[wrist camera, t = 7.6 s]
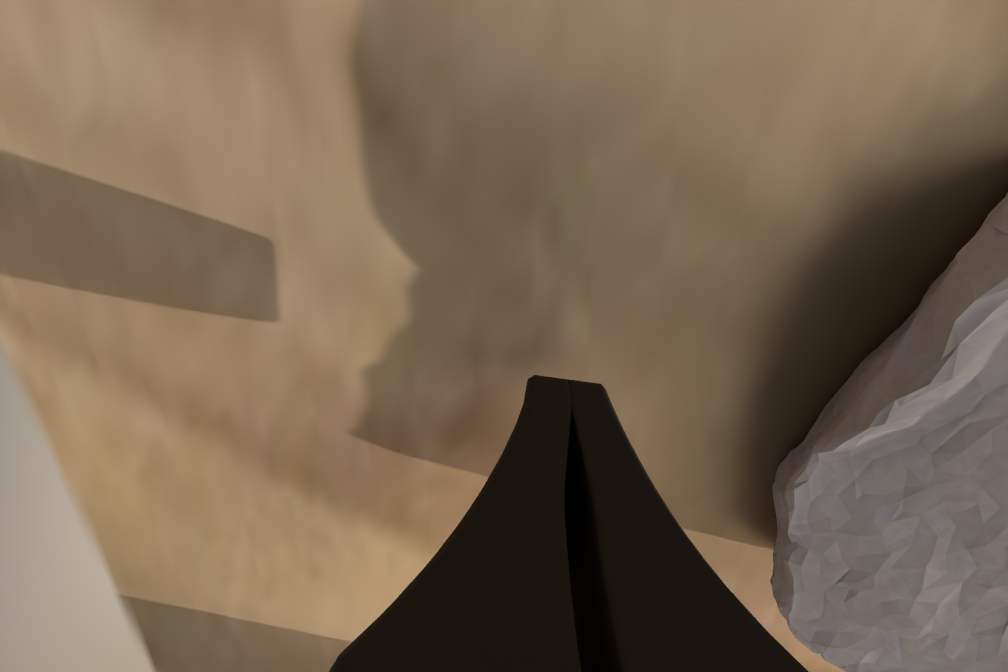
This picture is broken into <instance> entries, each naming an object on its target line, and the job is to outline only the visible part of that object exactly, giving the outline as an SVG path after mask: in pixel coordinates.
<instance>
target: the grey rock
mask: <svg viewBox="0 0 1008 672" xmlns="http://www.w3.org/2000/svg"><path fill="white" fill-rule="evenodd" d="M773 498H774V506H775V512H776V518H777V539H776V544H775V548H774V552H773V563H774V566H773V575H772V578H771V580H770V581H771V584H772V589H773V596H774V598H775V599H776V602H777V605H778V608H779V611H780V613H781V614H782V615H783V616H784V618H785V619H786V620H787V623H788V626H789V628H790V630H791V631H792V633H793V635H794V636H795V637H796V638H797V639H798V640H799V641H800V642H801V643H803V644H804V645H805V646H806V647H807V648H809V649H810V650H811V651H812V652H814V653H817V654H820V655H821V656H822V657H823V659H824V660H826V661H828V662H830V663H832V664H834V665H836V666H837V667H839V668H841V669H843V670H845V671H847V672H1008V192H1007V194H1006V196H1005V198H1004V199H1003V200H1002V201H1001V202H1000V203H999V204H998V205H997V206H996V207H995V208H994V209H993V210H992V211H991V212H990V213H989V214H988V216H987V218H986V219H985V221H984V223H983V224H982V226H981V227H980V229H979V230H978V232H977V233H976V234H975V236H974V237H973V238H972V239H971V240H970V241H969V242H968V243H967V244H966V245H965V246H964V247H963V248H962V249H961V250H960V251H959V252H958V253H957V254H956V257H955V258H954V259H953V260H952V261H951V262H950V263H949V265H948V267H947V268H946V270H945V271H944V272H943V273H942V274H941V275H940V276H939V277H938V278H937V279H936V280H935V281H934V282H933V283H932V284H931V286H930V288H929V289H928V291H927V292H926V293H925V296H924V298H923V299H922V301H921V303H920V304H919V306H918V307H917V309H916V310H915V311H914V312H913V313H912V314H911V315H910V316H909V317H908V319H907V320H906V321H905V322H904V323H903V324H902V325H901V326H900V327H899V328H898V329H896V330H895V331H894V332H893V333H892V334H891V335H890V336H889V337H888V338H887V339H886V340H885V341H884V342H883V343H882V344H881V345H880V346H879V347H878V348H876V349H875V350H874V351H873V352H872V353H870V354H869V355H868V356H867V357H866V358H865V359H864V360H863V361H862V362H861V363H860V364H859V366H858V367H857V368H856V370H855V371H854V372H853V374H852V375H851V376H850V377H849V379H848V380H847V381H846V382H845V384H844V385H843V386H842V387H841V388H840V389H839V391H838V392H837V393H836V394H835V395H834V396H833V398H832V399H831V400H830V401H829V402H828V404H827V405H826V406H825V407H824V409H823V410H822V412H821V413H820V415H819V417H818V419H817V420H816V422H815V424H814V425H813V427H812V428H811V429H810V431H809V433H808V434H807V436H806V438H805V439H804V441H803V442H802V443H801V444H800V445H799V446H798V447H796V448H795V449H793V450H791V451H790V452H789V454H788V455H787V456H786V458H785V459H784V460H783V461H782V463H781V464H780V465H779V466H778V469H777V472H776V475H775V481H774V483H773Z"/></svg>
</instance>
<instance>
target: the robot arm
mask: <svg viewBox="0 0 1008 672" xmlns="http://www.w3.org/2000/svg"><path fill="white" fill-rule="evenodd" d="M329 672H808V671H807V670H806V669H805V668H804V667H803V666H802V665H801V664H800V663H799V662H798V661H797V660H796V659H795V658H794V657H793V656H792V655H791V654H790V653H789V652H788V651H787V650H786V649H785V648H784V647H783V646H782V645H781V644H780V643H779V642H778V641H777V640H775V639H774V638H773V637H772V636H771V635H770V634H769V633H768V632H767V630H766V629H765V628H764V627H763V626H762V625H761V624H760V623H759V622H758V621H757V620H756V619H755V617H754V616H753V615H752V614H751V613H750V612H749V611H748V610H747V609H746V607H745V606H744V605H743V604H742V603H741V602H740V601H739V600H738V599H737V598H736V596H735V595H734V594H733V593H732V592H731V591H730V590H729V589H728V588H727V587H726V585H725V584H724V583H723V582H722V580H721V579H720V578H719V577H718V576H717V574H716V573H715V572H714V571H713V569H712V568H711V567H710V566H709V564H708V563H707V562H706V561H705V559H704V558H703V557H702V555H701V554H700V553H699V551H698V550H697V549H696V547H695V546H694V545H693V543H692V542H691V541H690V539H689V538H688V537H687V535H686V534H685V532H684V531H683V530H682V528H681V527H680V525H679V524H678V522H677V521H676V519H675V518H674V516H673V515H672V513H671V512H670V510H669V509H668V507H667V506H666V504H665V503H664V501H663V499H662V498H661V496H660V495H659V493H658V492H657V490H656V488H655V487H654V485H653V483H652V482H651V480H650V478H649V476H648V475H647V473H646V471H645V469H644V467H643V466H642V464H641V462H640V460H639V459H638V457H637V455H636V453H635V451H634V449H633V448H632V446H631V444H630V442H629V440H628V438H627V436H626V434H625V432H624V430H623V428H622V426H621V424H620V422H619V419H618V417H617V415H616V413H615V411H614V408H613V406H612V404H611V401H610V399H609V397H608V394H607V392H606V390H605V388H604V387H603V386H602V384H597V383H590V382H582V381H575V380H567V379H560V378H552V377H545V376H537V375H534V376H533V377H531V378H529V379H528V381H527V387H526V392H525V398H524V404H523V407H522V410H521V412H520V415H519V418H518V420H517V423H516V425H515V428H514V430H513V432H512V434H511V436H510V438H509V441H508V443H507V445H506V447H505V449H504V451H503V453H502V455H501V457H500V459H499V461H498V462H497V464H496V466H495V468H494V469H493V471H492V473H491V475H490V476H489V478H488V480H487V482H486V483H485V485H484V487H483V488H482V490H481V492H480V493H479V495H478V496H477V498H476V500H475V501H474V503H473V504H472V506H471V507H470V509H469V510H468V511H467V513H466V514H465V516H464V517H463V519H462V520H461V522H460V523H459V524H458V526H457V527H456V528H455V530H454V531H453V532H452V534H451V535H450V536H449V538H448V539H447V540H446V542H445V543H444V544H443V545H442V547H441V548H440V549H439V551H438V552H437V553H436V554H435V556H434V557H433V558H432V559H431V561H430V562H429V563H428V564H427V565H426V567H425V568H424V569H423V570H422V571H421V572H420V573H419V574H418V576H417V577H416V578H415V579H414V580H413V581H412V582H411V583H410V584H409V585H408V587H407V588H406V589H405V590H404V591H403V592H402V593H401V594H400V595H399V597H398V598H397V599H396V600H395V601H394V602H393V603H392V604H391V605H390V606H389V607H388V608H387V609H386V610H385V611H384V612H383V613H382V614H381V615H380V616H379V617H378V618H377V619H376V620H375V621H374V622H373V623H372V624H371V625H370V626H369V627H368V628H367V629H366V630H365V631H364V632H363V633H362V634H361V635H359V636H358V637H357V638H356V639H355V640H354V641H353V642H352V643H351V644H350V645H349V646H348V647H347V648H346V649H345V650H344V651H343V652H342V653H341V654H340V655H339V656H338V658H337V659H336V661H335V663H334V664H333V666H332V667H331V669H330V671H329Z"/></svg>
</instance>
